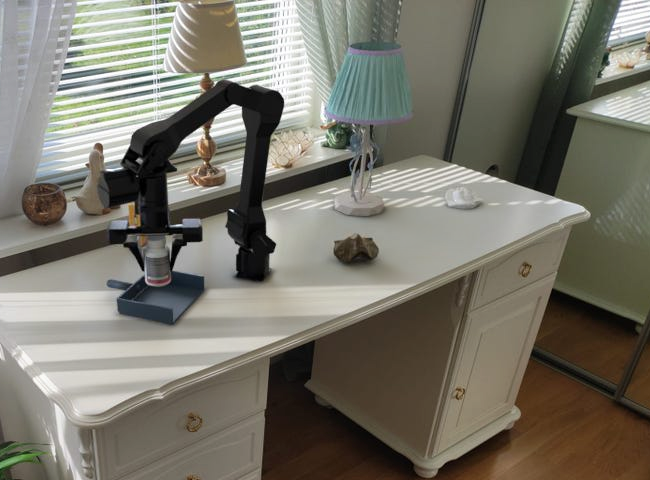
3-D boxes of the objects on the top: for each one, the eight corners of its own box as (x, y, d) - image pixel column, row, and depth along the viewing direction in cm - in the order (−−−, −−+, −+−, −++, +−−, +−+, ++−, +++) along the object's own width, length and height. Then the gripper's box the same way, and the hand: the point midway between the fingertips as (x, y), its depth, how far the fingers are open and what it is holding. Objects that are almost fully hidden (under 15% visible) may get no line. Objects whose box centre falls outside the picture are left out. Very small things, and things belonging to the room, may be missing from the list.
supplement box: (148, 240, 176) (145, 201, 171) (142, 246, 173) (140, 206, 168) (135, 239, 177) (132, 200, 172) (130, 244, 174) (127, 205, 169)
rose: (441, 180, 194) (478, 180, 194) (439, 196, 196) (474, 196, 196) (452, 193, 186) (490, 193, 185) (449, 210, 188) (487, 209, 188)
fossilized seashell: (377, 241, 166) (334, 245, 168) (377, 224, 160) (331, 229, 163) (380, 268, 163) (335, 272, 165) (379, 251, 157) (333, 256, 159)
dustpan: (204, 290, 153) (204, 276, 151) (172, 324, 141) (171, 309, 139) (125, 275, 160) (124, 261, 158) (88, 307, 148) (86, 292, 146)
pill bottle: (176, 282, 147) (174, 238, 141) (153, 290, 144) (150, 245, 139) (162, 273, 151) (160, 229, 145) (140, 280, 148) (137, 236, 143)
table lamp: (339, 188, 204) (352, 36, 182) (412, 202, 193) (436, 42, 171) (303, 212, 189) (312, 49, 168) (380, 229, 179) (401, 58, 157)
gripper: (201, 181, 144) (203, 252, 153) (109, 183, 145) (115, 254, 153) (201, 201, 135) (203, 276, 143) (102, 204, 135) (110, 278, 144)
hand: (157, 270), depth 146 cm, fingers closed on pill bottle, 5 cm apart
